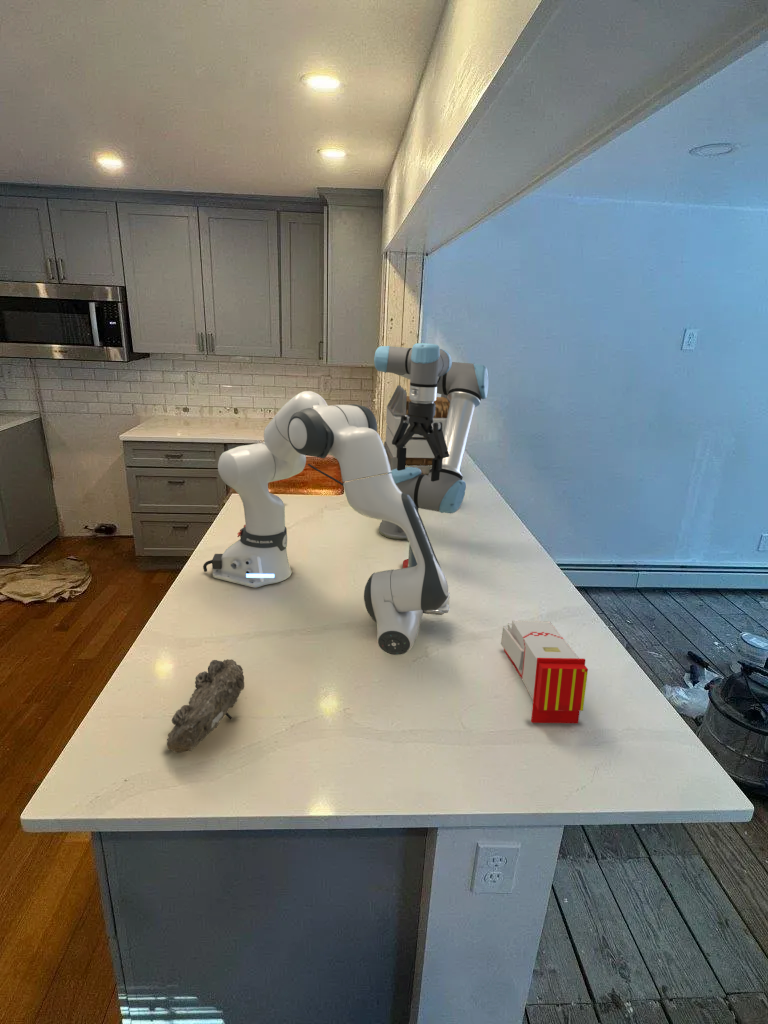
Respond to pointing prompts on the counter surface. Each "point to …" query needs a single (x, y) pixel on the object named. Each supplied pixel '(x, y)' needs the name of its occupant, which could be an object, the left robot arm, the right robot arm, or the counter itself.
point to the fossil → (206, 705)
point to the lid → (405, 563)
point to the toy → (547, 670)
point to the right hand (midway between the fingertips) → (417, 475)
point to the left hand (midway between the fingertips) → (413, 583)
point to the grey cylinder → (411, 558)
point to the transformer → (417, 445)
